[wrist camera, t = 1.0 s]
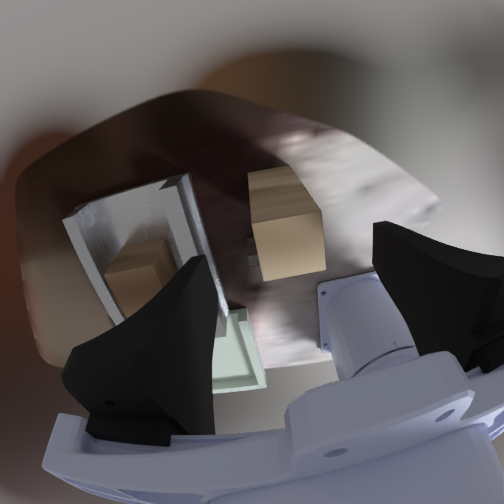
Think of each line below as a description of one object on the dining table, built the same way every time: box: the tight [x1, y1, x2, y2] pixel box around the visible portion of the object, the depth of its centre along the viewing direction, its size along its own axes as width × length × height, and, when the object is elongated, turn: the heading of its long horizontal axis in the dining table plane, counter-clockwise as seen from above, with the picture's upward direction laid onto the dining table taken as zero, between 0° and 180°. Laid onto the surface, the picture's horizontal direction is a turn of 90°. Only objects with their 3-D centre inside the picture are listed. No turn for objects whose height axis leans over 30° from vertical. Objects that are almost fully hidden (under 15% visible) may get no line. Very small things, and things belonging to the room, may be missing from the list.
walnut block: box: [104, 237, 178, 317], centre depth 21 cm, size 4×4×4 cm
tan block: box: [247, 165, 326, 281], centre depth 17 cm, size 6×5×9 cm
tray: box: [212, 308, 267, 393], centre depth 28 cm, size 11×13×2 cm
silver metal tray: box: [62, 172, 231, 338], centre depth 22 cm, size 13×10×3 cm
